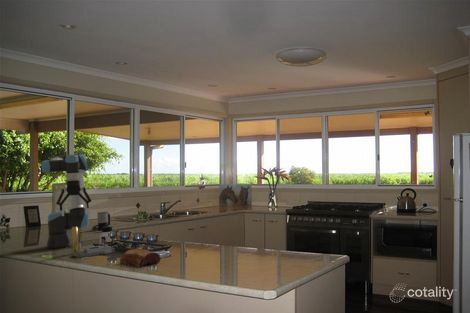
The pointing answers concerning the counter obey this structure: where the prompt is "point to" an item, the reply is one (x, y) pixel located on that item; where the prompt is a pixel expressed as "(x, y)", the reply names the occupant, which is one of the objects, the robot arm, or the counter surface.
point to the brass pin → (75, 239)
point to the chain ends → (94, 251)
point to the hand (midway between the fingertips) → (74, 214)
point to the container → (105, 234)
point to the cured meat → (139, 258)
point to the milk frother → (102, 220)
